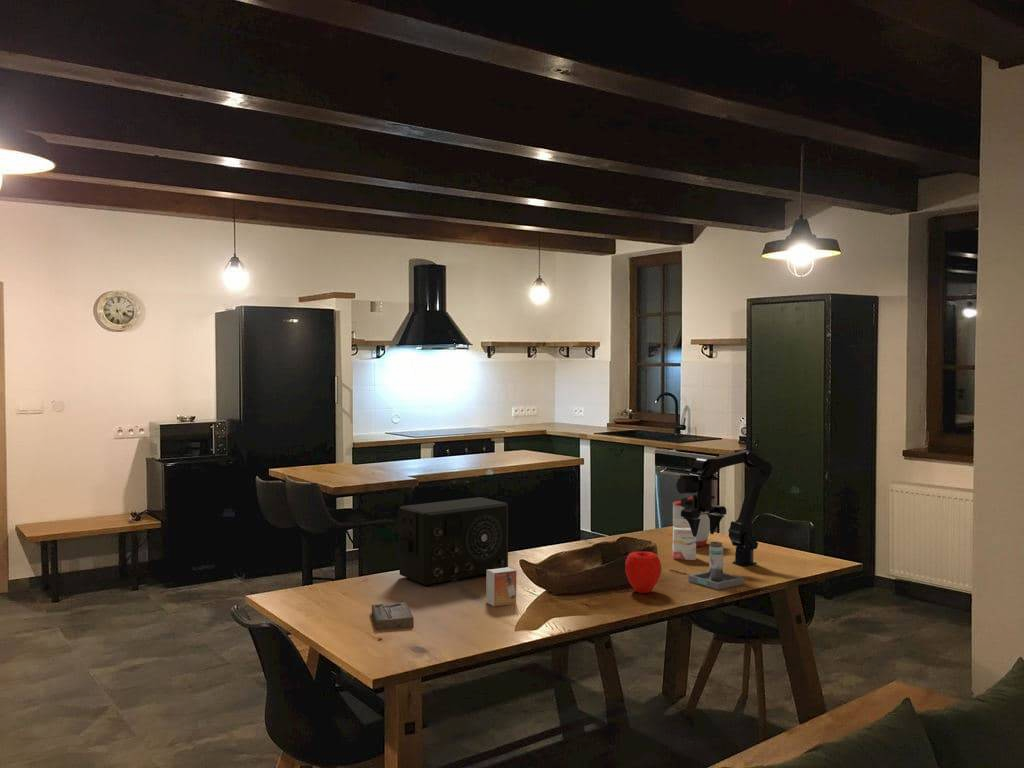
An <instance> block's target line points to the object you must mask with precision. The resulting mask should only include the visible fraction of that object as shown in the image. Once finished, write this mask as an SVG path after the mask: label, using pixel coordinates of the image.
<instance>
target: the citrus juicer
mask: <svg viewBox="0 0 1024 768" xmlns="http://www.w3.org/2000/svg"><path fill="white" fill-rule="evenodd" d="M693 496H694V495H691V496H689V497H687V498H688V500H690V499H693ZM682 509H685V508H684V507H682V506H681V500H676V501H673V502H672V528H673V527H674V519H684V518H683V517H681V510H682ZM699 519H700V523H699V528H698V532H697V535H696V547H704V546H705V545H707V542H708V539H709V536H710V519H709V517H708V515H707V514H702V515H700V517H699ZM681 524H688V522H681Z"/></svg>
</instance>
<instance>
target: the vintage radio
mask: <svg viewBox="0 0 1024 768" xmlns="http://www.w3.org/2000/svg"><path fill="white" fill-rule="evenodd" d="M397 512H398V540H397V541H398V542H397V543H398V550H399V554H398V555H399V575H400V576H402V577H404V578H406V579H409V580H412V581H415V582H417V583H420V584H423V585H425V586H426V587H433V586H434V584H437V583H444V582H449V581H454V580H459V579H460V580H461V579H465V578H472V577H476V576H482V575H486V572H487V570H488V569H499V568H506V567H509V504H508V503H507V502H504V501H499V500H495V499H489V498H486V497H481V496H479V497H478V496H477V497H469V498H461V499H454V500H453V499H452V500H445V501H444V500H443V501H436V502H435V501H434V502H427V503H418V504H417V503H416V504H410V505H409V504H408V505H401V506H400V507H399V508H398V511H397Z"/></svg>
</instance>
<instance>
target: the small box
mask: <svg viewBox="0 0 1024 768" xmlns="http://www.w3.org/2000/svg"><path fill="white" fill-rule="evenodd" d="M485 575H486V584H485V585H486V588H485V589H486V593H485V594H486V595H485V596H486V597H485V598H486V599H485V600H486V601H485V602H486V603H487V604H489V605H490V606H492V607H499V606H500V607H501V606H508V605H509V606H510V605H516V604H517V570H516V569H515V568H514V569H513V568H511V567H509V566H508V567H506V568H499V569H488V570H487V572H486V574H485Z"/></svg>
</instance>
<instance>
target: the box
mask: <svg viewBox="0 0 1024 768" xmlns="http://www.w3.org/2000/svg"><path fill="white" fill-rule="evenodd" d="M371 614H372V618H373V622H374V625H375V628H376V630H377V631H382V630H394V629H395V630H396V629H397V630H398V629H410V628H414V626H415V625H414V615H413V614H412V612H411V610H410V607H409V606H408V603H407V602H406V601H404V602H403V601H402V602H391V603H380V604H378V603H377V604H371Z"/></svg>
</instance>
